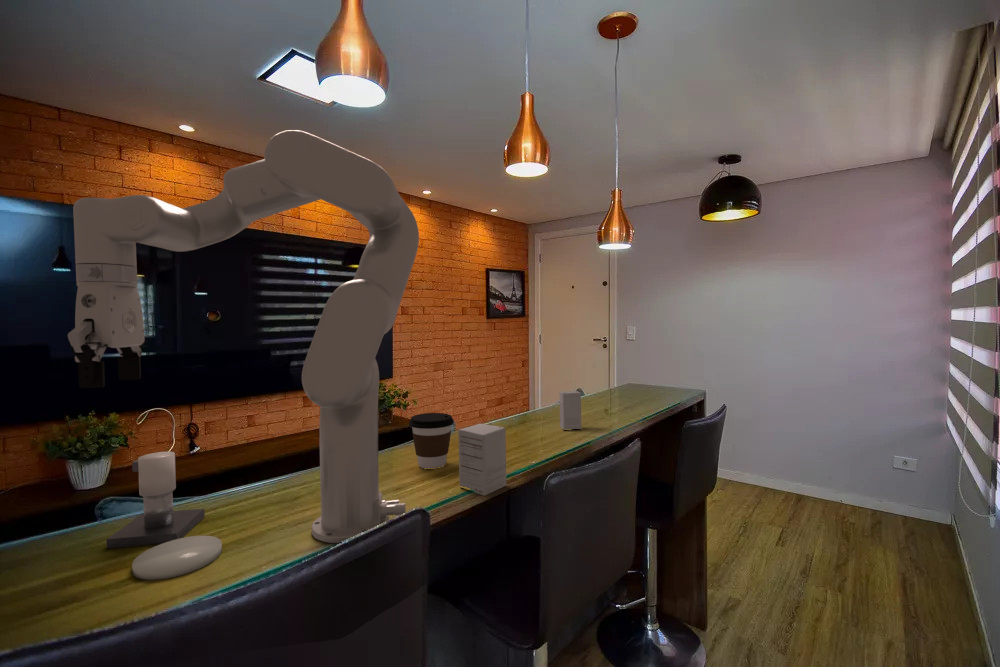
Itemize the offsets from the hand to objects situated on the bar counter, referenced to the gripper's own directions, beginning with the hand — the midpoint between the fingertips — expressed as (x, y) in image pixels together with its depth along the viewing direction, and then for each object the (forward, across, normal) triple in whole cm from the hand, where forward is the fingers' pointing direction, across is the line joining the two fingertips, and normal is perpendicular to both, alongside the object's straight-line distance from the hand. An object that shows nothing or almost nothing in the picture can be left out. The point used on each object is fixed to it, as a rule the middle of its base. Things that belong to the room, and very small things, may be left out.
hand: (112, 383), depth 75 cm
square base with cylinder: (+26, +2, -5) cm, 26 cm away
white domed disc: (+26, -9, -13) cm, 30 cm away
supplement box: (+26, +10, -62) cm, 68 cm away
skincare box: (+27, +54, -98) cm, 115 cm away
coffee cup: (+26, +27, -52) cm, 65 cm away
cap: (+19, +2, -5) cm, 20 cm away
